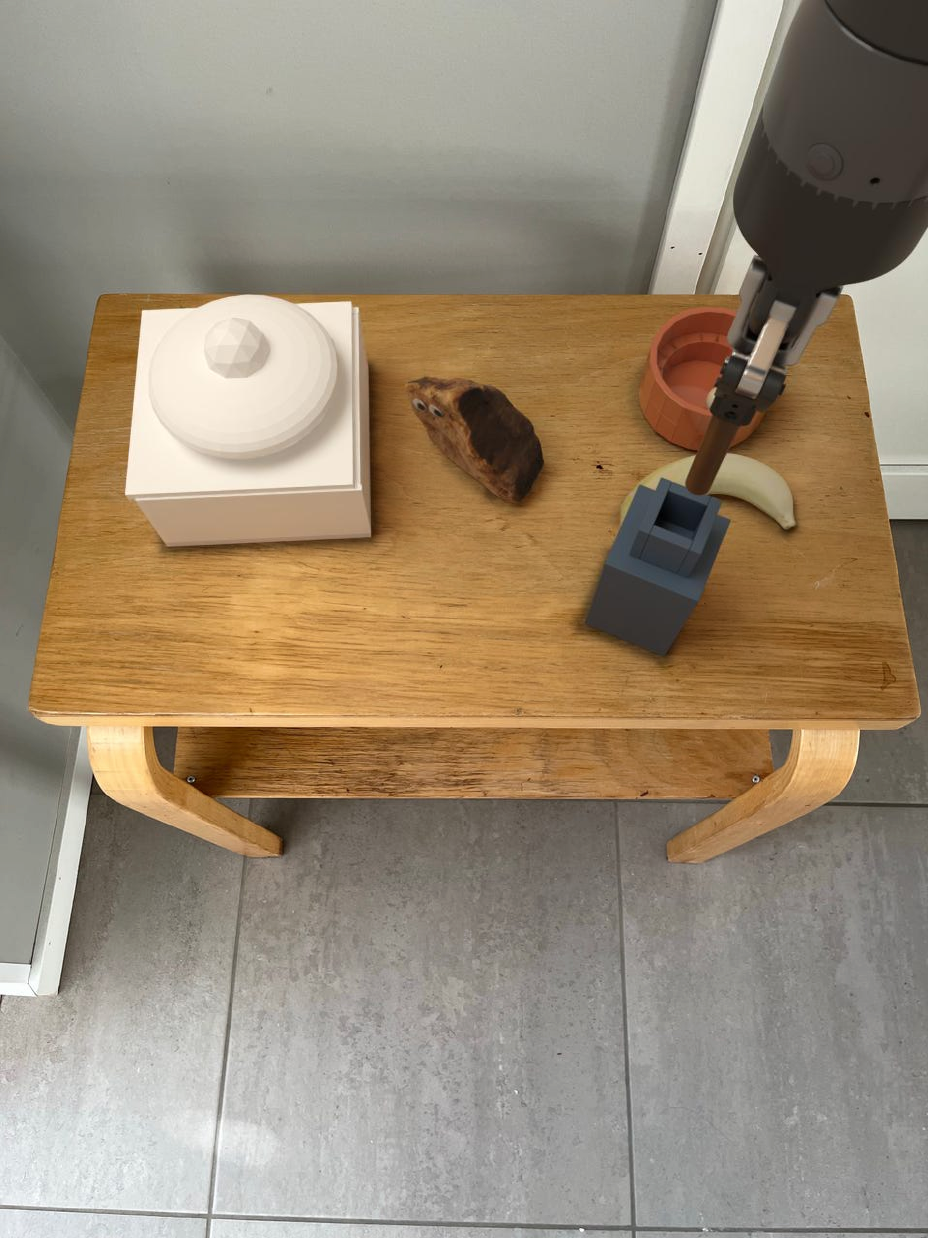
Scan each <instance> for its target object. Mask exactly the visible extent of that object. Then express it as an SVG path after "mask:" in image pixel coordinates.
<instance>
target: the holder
mask: <svg viewBox="0 0 928 1238" xmlns="http://www.w3.org/2000/svg"><path fill="white" fill-rule="evenodd" d="M722 504H723V500H722V499H719V498H717V497H715V496H711V495H710V494H708V495H706V494H704V495H694V494H692V493H690V492H689V491H688V490H687V488H686V487H685V486H683V485H680V484H678V483H675V482H672V481H670V480H667V479H665V478H662V477H661V479H660V481H659V483H658V486H657V488H656V490H653V489H651V488H648V487H645V486H643V485H639V486H638V489H637V491H636V493H635V495H634V498H633V500H632V502H631V505H630V507H629V509H628V511H627V514H626V516H625V518H624V520H623V523H622V525H621V527H620V526H619V529H618V532H617V534H616V537H615V538H614V541H613V543H612V546H611V548H610V550H609V553H608V555H607V557H606V559H605V562H604V564H603V567H602V570H601V572H600V575H599V579H598V581H597V585H596V587H595V591H594V593H593V596H592V599H591V602H590V605H589V607H588V610H587V613H586V617H585V619H584V623H583V624H584V625H587V626H588V627H591V628H593V629H596V630H599V631H601V632H603V633H604V634H605V633H606V634H608V635H610V636H613V637H615V638H618V639H620V640H623V641H625V642H627V643H630V644H631V645H634V646H637V647H639V648H642V649H643V650H646V651H649V652H651V653H652V654H656V655H658V656H661V657H665V656H666V654H667V653H668V651H669V650H670V648H671V646H672V645H673V643H674V642H675V640H676V639H677V637H678V636H679V634H680V632H681V631H682V629H683V628H684V626H685V624H686V623H687V622H688V620H689V618H690V617H691V615H692V613H693V612H694V610H695V609H696V607H697V605H698V604H699V602H700V600H701V598H702V595H703V592H704V590H705V587H706V585H707V583H708V580H709V577H710V575H711V572H712V569H713V567H714V565H715V562H716V560H717V557H718V555H719V551H720V549H721V547H722V544H723V542H724V539H725V537H726V534H727V531H728V529H729V526H730V525H731V518H728V517H725V516H722V515H719V511H720V509H721V506H722Z"/></svg>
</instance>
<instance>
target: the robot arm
mask: <svg viewBox="0 0 928 1238" xmlns="http://www.w3.org/2000/svg"><path fill="white" fill-rule="evenodd" d="M768 84H769V85H768V87H767V90H766V93H765V95H764V99H763V102H762V104H761V107H760V110H759V113H758V116H757V118H756V121H755V125H754V128H753V131H752V134H751V137H750V140H749V142H748V145H747V149H746V151H745V154H744V157H743V160H742V163H741V166H740V168H739V172H738V174H737V177H736V180H735V183H734V188H733V193H732V207H733V215H734V218H735V222H736V225H737V228H738V230H739V231H740V233H741V236H742V237H743V239H744V241H745V242H746V243H747V244H748V246H749V247H750V248H751V249H752V251H753V252H754V253H756V254H754V255H753V257H752V259H751V261H750V264H749V266H748V269H747V271H746V274H745V275H744V278H743V281H742V284H741V286H740V288H739V290H738V297H739V299H740V304H739V306H738V309H737V313H736V316H735V318H734V320H733V323H732V325H731V328H730V330H729V333H728V335H727V338H726V340H727V342H728V344H729V345H730V346H731V347H732V348H733V351H732V353H731V356H730V358H728V357H726V359H725V362H724V364H723V366H722V369H721V371H720V373H719V374H722V377H721V378H720V377H718V378H717V381H716V383H715V385H714V387H716V388H717V389H716V391H715V393H714V395H715V398H714V400H713V402H712V405H711V407H710V412H711V414H712V415H714V416H715V418H718V419H721V420H723V421H726V422H729V423H731V424H734V425H737V426H740V427H741V426H747V425H749V424H750V422H751V421H752V419H753V417H754V415H755V413H756V411H758V412H761V413H763V412H764V411H765V410H766V411H768V409H769V408H770V407H771V406H772V405H773V404H775V402H776V400H777V398H778V397H779V396H780V397H782V396H783V393H784V391H785V389H786V387H787V384H786V383H785V381H786V379H787V374H786V373H787V371H788V367H794V366H796V365H797V364H798V363H799V361H800V359H801V358H802V355H803V354H804V351H806V348H807V347H808V344H809V343H810V341H811V340H812V337H813V335H814V333H815V332H816V330H817V328H818V327H821V326H823V325H826V323H827V322H828V321H829V319H830V316H831V314H833V311H834V309H835V307H836V305H837V303H838V301H839V299H840V297H841V294H842V292H843V290H844V286H849V285H855V284H860V283H865V282H869V281H871V280H875V279H878V278H880V277H883V276H884V275H886V274H888V273H890V272H891V271H894V270H895V269H897V268H898V267H899V266H900V265H901V264H903V263H904V262H905V260H907V259H908V258H909V256H910V255H912V253H913V251H914V250H915V249H916V248H917V246H918V244H919V242H920V241H921V240H922V238H923V236H924V234H925V233H926V231H927V230H928V0H801V1H800V4H799V5H798V7H797V10H796V12H795V14H794V16H793V18H792V21H791V22H790V25H789V27H788V29H787V32H786V35H785V37H784V40H783V43H782V46H781V49H780V52H779V55H778V58H777V61H776V64H775V67H774V70H773V72H772V75H771V79H770V82H769V83H768ZM745 352H751V354H748V353H745Z"/></svg>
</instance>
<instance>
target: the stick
mask: <svg viewBox="0 0 928 1238" xmlns="http://www.w3.org/2000/svg"><path fill="white" fill-rule="evenodd" d="M745 353H748V354H751V352H745ZM738 428H739V426H737V425H734V424H731V423H729V422H726V421H723V420H721V419H718V418H715V416H714V415H712V417H711V419H710V422H709V424H708V427H707V429H706V432H705V434H704V437H703V439H702V441H701V444H700V446H699V449H698V450H696V451H697V452H696V454H695V455H696V456H695V459H694V461H693V463H692V466H691V468H690V471H689V473H688V476H687V478H686V481H685V485H686V488H687V490H688V491H689V492H690V493H692V494H694V495H704V494H706V493H707V492H709V490H710V488H711V486H712V484H713V482H714V480H715V478H716V475H717V473H718V471H719V469H720V467H721V465H722V463H723V460H724V458H725V456H726V454H727V453H729V449H730V448H731V447H730V445H731V443H732V441H733V439H734V437H735V435H736V433H737V430H738Z"/></svg>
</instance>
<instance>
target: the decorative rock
mask: <svg viewBox="0 0 928 1238" xmlns="http://www.w3.org/2000/svg"><path fill="white" fill-rule="evenodd" d="M404 390H405V392H406V396H407V399H408V401H409V403H410V405H411V409H412V412H413V413H414V415H415V416H416V417H417V418H418V420H419V421H420V422H421V423H422V425H423V427H424V428H425V430H426V433H427V436H428V438H429V440H430V442H431V443H432V444H433V445H434V446H435V447H437V448H438V449H439V450H441V451H442V452H443V453H444V454H445V456H446V457H448V458H449V459H450V460H451V461H453V462H454V463H455V464H456V465H457V466H458V467H459V468H461V469H462V470H463V471H464V472H465V473H467V474H468V475H469V476H471V477H473V478H474V479H475V480H477V481H478V482H479V483H480V484H481V485H482V486H483V487H485V488H486V489H488V490H489V492H491V494H492V495H494V496H496V497H498V498H499V499H501V500H503V501H506V502H510V503H512V504H515V505H518V504H520V503H521V502H522V501H523V500H524V499H525V498H526V497H527V495H528V494H529V493H530V492H531V491H532V490H533V487H534V484H535V482H536V481H537V479H538V477H539V475H540V473H541V472H542V470H543V468H544V465H545V459H544V453H543V449H542V443H541V442H540V441H541V440H540V438H539V436H537V434H536V433H535V426H534V425H533V423H532V421H531V419H529V418H527V417H526V416H525V415H524V414H523V413H522V412H521V411H520V410H519V409H518V408H516V407H515V406H514V404H513V403H512V402H511V401H510V399H508V397H507V396H506V394H505V393H504V392H503V391H502V390H500V389H499V388H497V387H495V386H493V385H491V384H490V385H488V384H483V383H482V384H481V383H478V382H476V381H473V379H472V380H471V379H466V378H461V377H454V378H453V379H452V378H451V379H448V378H447V379H446V378H439V377H434V376H433V377H431V376H425V375H424V376H422V377H421V378H418V379H414V380H410V381H408V382H406V383H405V387H404Z"/></svg>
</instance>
